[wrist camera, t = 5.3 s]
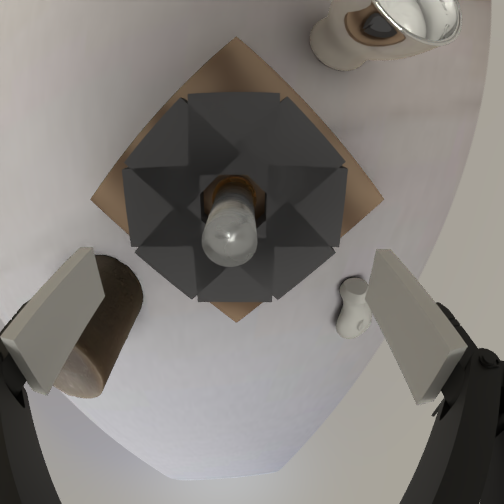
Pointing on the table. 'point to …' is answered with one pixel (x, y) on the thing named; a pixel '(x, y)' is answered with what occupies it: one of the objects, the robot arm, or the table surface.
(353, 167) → the walnut base
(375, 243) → the table surface
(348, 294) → the smooth white sculpture
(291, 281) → the dark grey faceted disc
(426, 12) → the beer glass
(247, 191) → the steel post
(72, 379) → the pillar candle
